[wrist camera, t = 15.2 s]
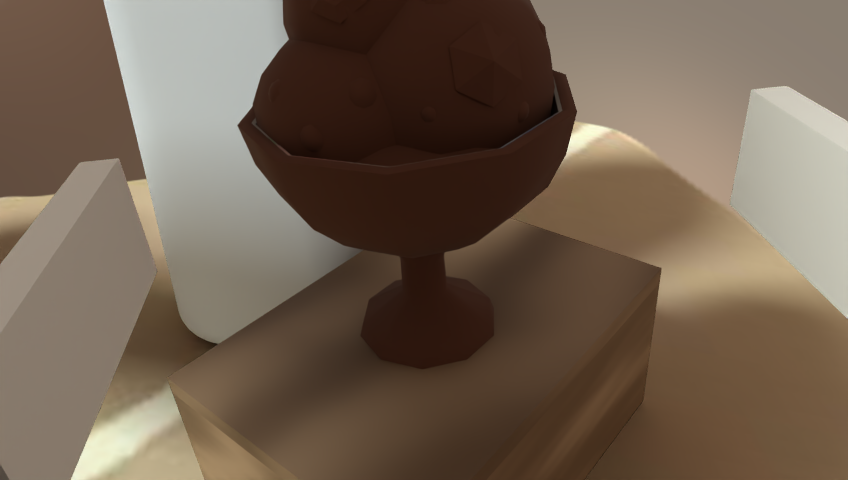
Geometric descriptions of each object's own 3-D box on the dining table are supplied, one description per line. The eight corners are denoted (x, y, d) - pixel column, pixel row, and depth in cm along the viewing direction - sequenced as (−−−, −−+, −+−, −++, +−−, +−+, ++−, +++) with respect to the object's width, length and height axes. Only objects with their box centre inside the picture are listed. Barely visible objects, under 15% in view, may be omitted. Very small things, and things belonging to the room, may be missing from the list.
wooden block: (216, 510, 30) (166, 377, 26) (453, 313, 40) (445, 196, 36) (422, 697, 23) (401, 557, 19) (642, 400, 33) (661, 268, 29)
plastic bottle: (396, 384, 36) (312, -276, 21) (156, 345, 40) (-56, -227, 25) (464, 236, 48) (441, -248, 33) (274, 218, 52) (179, -218, 37)
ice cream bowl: (262, 425, 23) (129, -40, 15) (327, 249, 32) (266, -95, 25) (577, 428, 22) (610, -73, 14) (549, 244, 31) (560, -118, 23)
